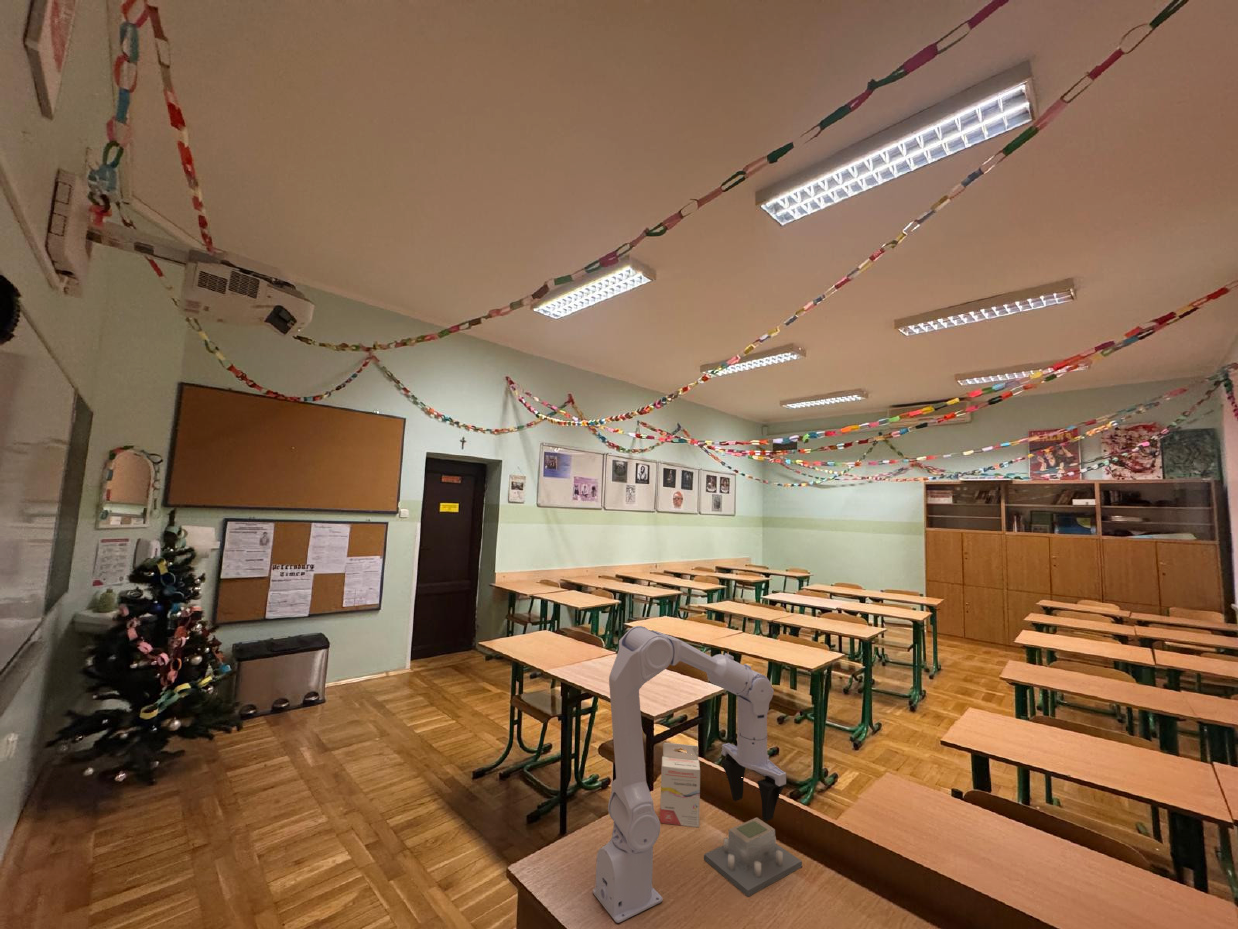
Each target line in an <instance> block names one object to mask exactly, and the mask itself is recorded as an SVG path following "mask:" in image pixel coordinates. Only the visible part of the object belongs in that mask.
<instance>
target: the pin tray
mask: <svg viewBox="0 0 1238 929" xmlns="http://www.w3.org/2000/svg"><path fill="white" fill-rule="evenodd" d="M728 847H729V837H728V838H727V837H725V838H723V845H721V846H718V847H717V848H714V849H712V850H709V851H708V852H705V853H704V854H703V860H704V861H705V862H706V863H707V864H708V865H709V866H711V867H712V868H713V869H714V870H715V871H716V872H718V873H719V874H720V875H721V876H722V877H724V878H725V879H726V880H727V881H729V882H730V883H731V884H732V885H733V886H734V887H735V888H737V889H738V890H739V891H740V892H741V893H742V894H743V895H745V896H746V897H747V898H749V897H750V896H753V895H754V894H756V893H758V892H760V891H761V890H763V889H765V888H767V887H769V886H770V885H772V884H774V883H775V882H778V881H779V880H781V879H782V878H785V877H787V876H788V875H790V874H792V873H795V871H797V870H799V869H801V868H802V867H803V861H802V860H801V859H800V858H798V857H797V856H795V855H794V854H792V853H790V852H789V851H788V850H786V849H785V848H783V847H782V846H780V845H779V844H778V843H777V837H776V835H775V858H774V859H772V860H770V861H768V862H766V863H764V864H762V865H761V863H760V862H759V861H755V862H754V869H752V870H750V871H748V872H745V871H744V870H743V869H742V868H740V867H739V866H738V865H737V864H735V863H734V855H732V854H729V855H728Z"/></svg>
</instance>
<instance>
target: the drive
mask: <svg viewBox="0 0 1238 929" xmlns="http://www.w3.org/2000/svg"><path fill="white" fill-rule="evenodd" d="M775 836H776V829H775V828H773V827H772V826H770V825H769V824H768V823H767V822H766V821H765V822H764V820H762V819H760V818H759V817H754V818H752V819H750V820H749V819H748V821H745V822H743V823H740V824H737V825H735V826H733V827H731V828H729V829H728V839H729V847H728V855H729V854H732V855H734V863H735V864H737V865H738V866H739V867H740V868H742V869H743V870H744V871H745V872H748V871H750V870H752V869H754V862H755V861H759V862H760V863H761V865H762V864H764V863H766V862H768V861H770V860H772V859H774V858H775Z"/></svg>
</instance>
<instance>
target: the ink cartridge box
mask: <svg viewBox="0 0 1238 929" xmlns="http://www.w3.org/2000/svg"><path fill="white" fill-rule="evenodd" d="M679 749H682V750H683V751H686V752H687V753H686V752H683V751H675V750H679ZM691 754H692V755H691ZM700 766H701V765H700V760H699V746H698V745H693V744H691V745H690V744H684V743H675V742H674V743H671V742H663V744H662V756H661V773H660V775H661V776H660V800H659V801H660V804H659V815H660V816H659V821H660V824H667V825H675V826H677V825H678V826H684V827H691V828H692V827H693V828H699V827H700V805H701V804H700V803H701V801H700V800H701V797H700V796H701V794H700V793H701V767H700Z"/></svg>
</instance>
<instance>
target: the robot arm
mask: <svg viewBox="0 0 1238 929" xmlns="http://www.w3.org/2000/svg"><path fill="white" fill-rule="evenodd" d="M734 659H735V658H734V656H733V655H731V654H729V653H727V652H724V654H722V653H719V654H715V655H713V656H711V655H709V654H707V653H705V652H704V651H702V650H699V649H697V648H696V647H694V646H692V645H690V644H689V643H687V642H685V641H683V640H681V639H679V638H677V637H674V636H671V635H670V634H666V633H663V632H660V631H657V630H649V629H648V628H647V627H645V626H644V625H643V626H642V625H635V626H633V627H631V628H629V629H628V631H626V633H625V634H624V635H623V636H622V637H621V638H620V639H619V641H618V652H617V655H616V657H615V660H614V663H613V666H612V668H611V671H610V673H609V677H608V686H609V700H610V711H611V712H610V713H611V726H612V737H613V738H612V739H613V751H614V752H613V753H614V763H615V764H614V765H615V766H614V768H615V779H614V780H613V781H612V782H611V784H610V785H611V786H610V787H611V793H610V796H609V800H608V804H607V810H608V811H607V812H608V815H609V817H610V819H611V820H613V828H612V834H611V838H610V839H609V841H608V842H607V843H606V844H605V845H604V846H602V847H600V848H599V849H598V851H597V853H596V861H595V862H596V865H595V866H596V867H595V887H594V888H593V889H592V894H594V896H595V898H596V899H597V900H598V901H599V903H600V904H601V905H602V906H603V908H604V909H605V910H606V912H607V913H608V914H609V915H610V917H611V918H612V920H614V922H615V923H617V924H618V923H621V922H624V921H625V920H628V919H629V918H631V917H633V916H635V915H638V914H640V913H642V912H643V911H646V910H648V909H650V908H652V907H654V906H656V905H658V904H660V903H662V902H663V896H662V895H661V894H660V893H659V892H658V891H657V890H656V889H655V888H654V887H653V866H654V865H653V860H654V858H653V857H654V855H653V854H654V853H653V852H654V845H655V844H656V843H657V841H658V839H659V836H660V833H661V823H660V817H658V814H657V813H656V811H655V807H654V800H653V798H652V794H651V791H650V789H649V786H648V783H647V775H646V764H645V751H644V749H645V748H644V740H643V739H644V737H643V725H642V714H641V712H642V711H641V701H640V699H641V698H640V689H641V688H642V687H644V686H643V685H645V684H646V683H647V682H649V681H650V680H652V679H653V678H655V677H656V676H657V675H659V674H660V673H662V672H664V671H665V670H666V669H667V668H668V667H669V666H670V665H671V666H676V665H677V664H678V663H680V662H682V663H684V664H687V665H689V666H691V667H693V668H696V669H698V670H700V671H701V672H705V673H706V676H707V680H708V681H709V682H710V684H712V685H715V686H717V687H719V688H721V689H723V690H726V691H727V692H729V693H731V694H733V695H735V696H737V719H736V720H737V722H736V723H737V732H736V736H737V738H736V739H737V740H736V741H737V744H736V745H734V744H733V743H730V742H727V743H725V744H724V743H723V744H721V755H722V756H724V757H725V759H722V760H721V766H722V769H723V770H724V772H725V774H726V778H727V781H728V784H729V788H730V792H731V797H732V801H734V802H737V801H739V800H742V799H743V796H744V781H745V780H744V779H745V778H744V777H745V773H746V769H748V770H752V771H755V772H756V773H757V774H761V775H762V776H764V777H765V778H763V779H760V780H758V781H757V786H758V789H759V792H760V797H761V798H760V799H761V817H762V819H763V820H762V821H765V822H768V821H771V820H773V819H774V814H775V811H776V806H777V804H778V800H779V797H780V795H781V794H782V791H783V789H784V788H785V786H786V784H787V772H785V771H783V770H782V769H781V768H779V767H778V766H777V765H776V764H775V763H774V762H772V761H771V760H770V759H769V758H770V756H769V754H768V714H769V713H768V712H769V711H770V709H769V708H770V703H771V701H772V699H773V696H774V692H775V690H774V688H773V687H772V684H771V681H770V680H769V678H768V677H767V676H766V675H764V674H762V673H760V672H758V671H756V670H753V669H752V666H751V665H749V664H747V663H744V664H741V663H740V662H738V661H735V660H734ZM741 777H743V778H741ZM779 794H780V795H779Z"/></svg>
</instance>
